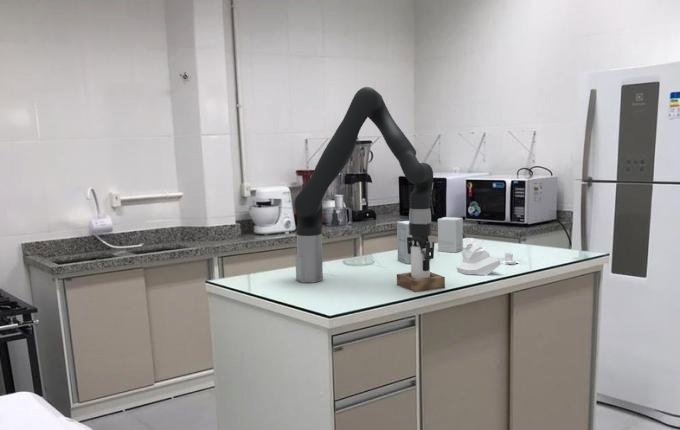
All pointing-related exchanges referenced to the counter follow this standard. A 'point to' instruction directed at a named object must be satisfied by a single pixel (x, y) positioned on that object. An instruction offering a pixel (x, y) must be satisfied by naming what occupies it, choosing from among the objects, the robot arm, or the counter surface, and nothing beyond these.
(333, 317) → the counter surface
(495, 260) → the white faceted sculpture
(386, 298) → the counter surface
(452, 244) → the supplement box
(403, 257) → the supplement box
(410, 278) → the brown open box
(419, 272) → the can
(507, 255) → the teacup and saucer
